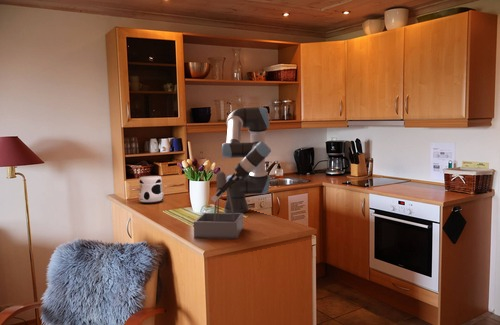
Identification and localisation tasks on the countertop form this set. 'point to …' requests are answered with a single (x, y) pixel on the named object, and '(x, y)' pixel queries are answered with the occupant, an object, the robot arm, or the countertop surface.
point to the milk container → (151, 189)
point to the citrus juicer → (220, 183)
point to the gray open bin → (218, 226)
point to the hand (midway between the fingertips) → (215, 197)
